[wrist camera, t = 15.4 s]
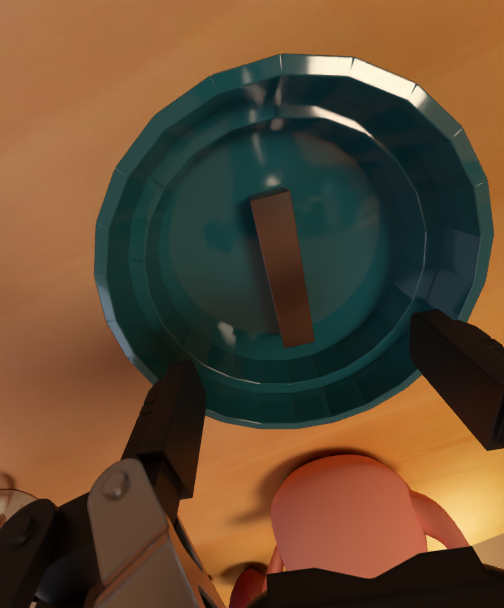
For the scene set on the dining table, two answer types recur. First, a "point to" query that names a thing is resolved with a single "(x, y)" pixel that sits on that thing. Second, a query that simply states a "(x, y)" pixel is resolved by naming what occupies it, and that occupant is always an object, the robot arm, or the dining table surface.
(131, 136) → the dining table surface
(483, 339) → the robot arm
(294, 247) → the stick
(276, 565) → the teapot
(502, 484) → the dining table surface
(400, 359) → the bowl
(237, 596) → the apple
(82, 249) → the dining table surface
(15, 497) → the mug
